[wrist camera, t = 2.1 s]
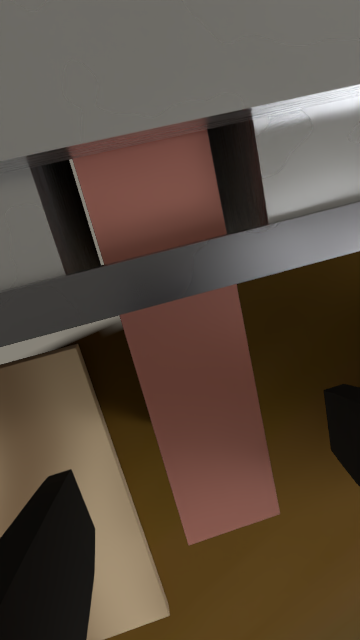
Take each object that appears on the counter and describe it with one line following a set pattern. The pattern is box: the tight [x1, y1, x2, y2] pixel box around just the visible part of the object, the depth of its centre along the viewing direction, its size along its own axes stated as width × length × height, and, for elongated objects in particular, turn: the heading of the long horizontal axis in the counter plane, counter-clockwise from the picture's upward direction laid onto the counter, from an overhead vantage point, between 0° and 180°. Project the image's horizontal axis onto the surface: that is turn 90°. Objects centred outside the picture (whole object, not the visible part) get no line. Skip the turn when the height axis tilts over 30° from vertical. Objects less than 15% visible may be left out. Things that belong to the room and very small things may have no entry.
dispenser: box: [0, 0, 360, 347], centre depth 7 cm, size 12×8×7 cm, turn 103°
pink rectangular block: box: [73, 130, 280, 545], centre depth 9 cm, size 2×11×6 cm, turn 13°
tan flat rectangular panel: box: [0, 344, 170, 640], centre depth 13 cm, size 8×14×1 cm, turn 13°
